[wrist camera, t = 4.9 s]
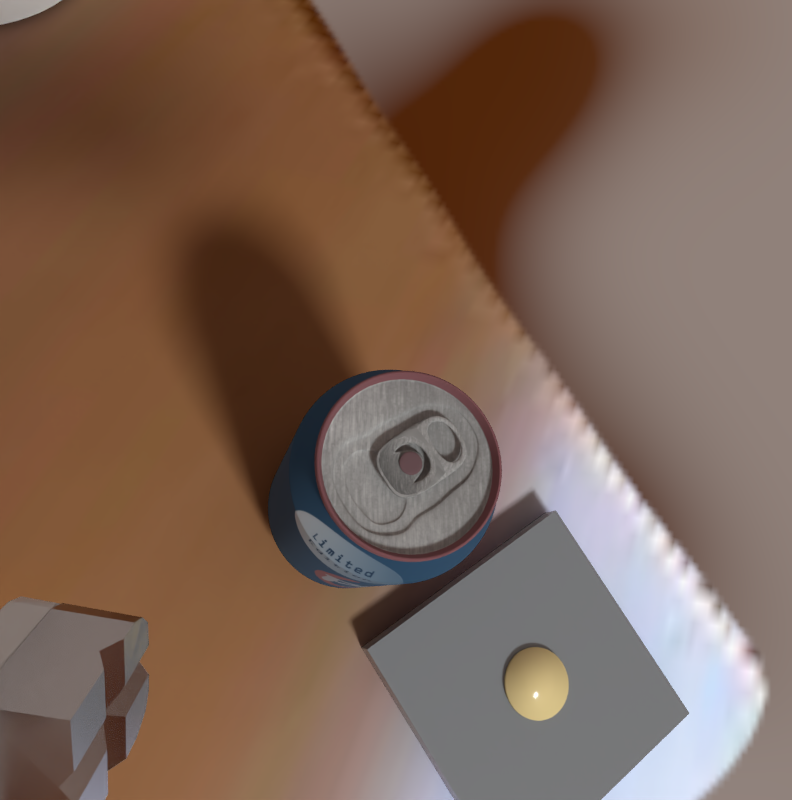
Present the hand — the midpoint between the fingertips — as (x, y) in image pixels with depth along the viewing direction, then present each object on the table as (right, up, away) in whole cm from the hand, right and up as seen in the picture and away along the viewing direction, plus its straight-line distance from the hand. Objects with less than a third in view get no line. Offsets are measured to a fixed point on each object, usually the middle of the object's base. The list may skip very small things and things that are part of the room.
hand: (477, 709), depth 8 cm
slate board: (+5, -9, +23) cm, 25 cm away
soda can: (-3, -1, +23) cm, 24 cm away
